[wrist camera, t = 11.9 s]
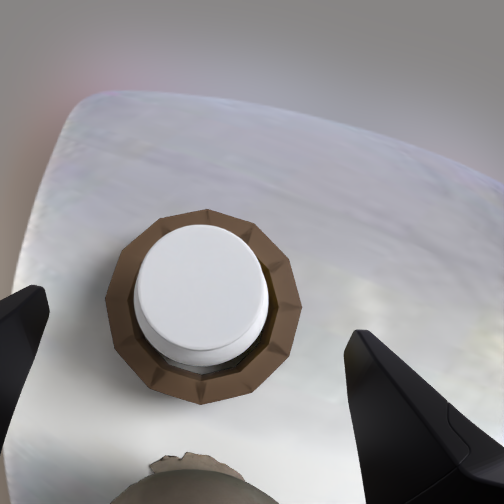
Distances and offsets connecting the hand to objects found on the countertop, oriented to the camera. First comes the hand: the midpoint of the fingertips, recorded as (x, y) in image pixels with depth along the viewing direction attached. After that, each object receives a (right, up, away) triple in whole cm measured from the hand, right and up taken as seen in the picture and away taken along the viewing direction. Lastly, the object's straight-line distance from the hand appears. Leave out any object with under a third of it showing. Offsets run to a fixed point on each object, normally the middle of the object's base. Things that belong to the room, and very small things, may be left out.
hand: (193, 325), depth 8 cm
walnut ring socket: (-1, -1, +11) cm, 11 cm away
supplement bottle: (-1, -2, +11) cm, 11 cm away
